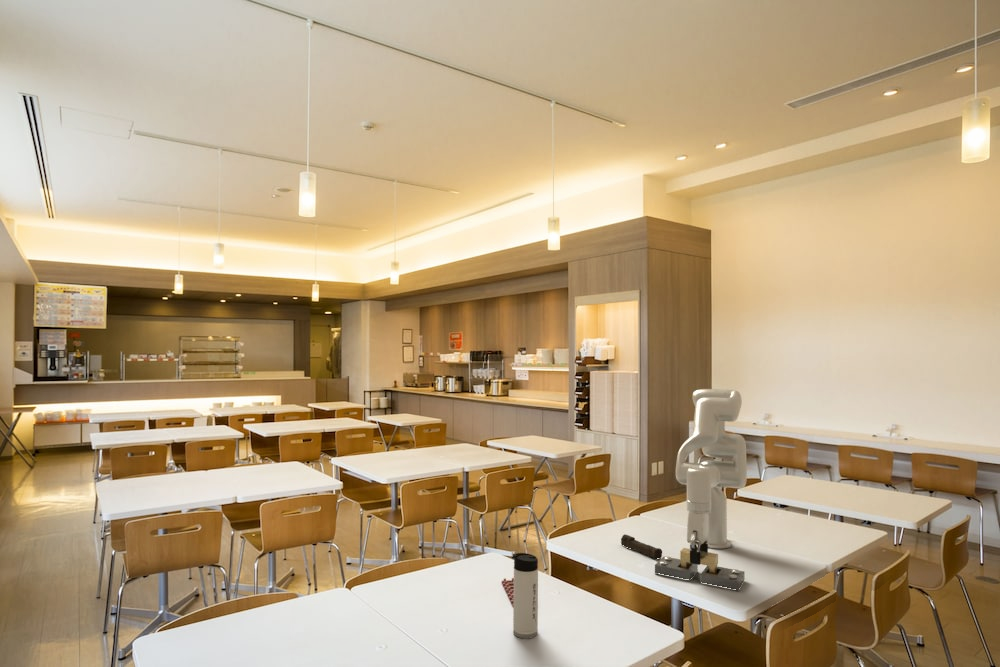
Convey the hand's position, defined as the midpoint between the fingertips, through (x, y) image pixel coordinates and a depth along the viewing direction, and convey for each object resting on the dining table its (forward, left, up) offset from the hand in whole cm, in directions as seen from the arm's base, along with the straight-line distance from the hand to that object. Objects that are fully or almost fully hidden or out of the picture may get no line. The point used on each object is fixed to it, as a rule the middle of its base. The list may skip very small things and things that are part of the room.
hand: (699, 559), depth 192 cm
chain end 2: (0, +7, -6) cm, 9 cm away
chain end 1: (0, -7, -6) cm, 9 cm away
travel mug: (+65, -28, -6) cm, 71 cm away
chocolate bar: (+44, -42, -7) cm, 61 cm away
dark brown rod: (-13, -25, -6) cm, 29 cm away
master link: (0, 0, -6) cm, 6 cm away
